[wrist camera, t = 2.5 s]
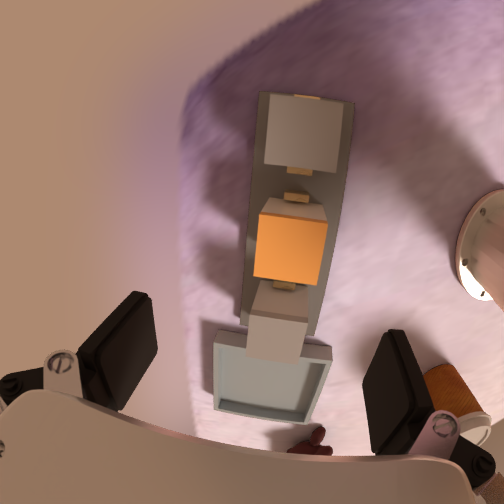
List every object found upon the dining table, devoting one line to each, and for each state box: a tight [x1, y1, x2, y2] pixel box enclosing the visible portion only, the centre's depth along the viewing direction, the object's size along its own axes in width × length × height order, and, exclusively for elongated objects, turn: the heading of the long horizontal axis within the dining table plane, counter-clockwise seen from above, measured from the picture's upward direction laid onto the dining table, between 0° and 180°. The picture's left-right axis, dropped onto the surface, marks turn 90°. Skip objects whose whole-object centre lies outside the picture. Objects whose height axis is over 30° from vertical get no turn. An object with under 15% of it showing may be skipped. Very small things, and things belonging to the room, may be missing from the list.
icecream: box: [286, 427, 333, 456], centre depth 36 cm, size 7×7×15 cm
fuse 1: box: [264, 94, 344, 173], centre depth 19 cm, size 5×5×6 cm
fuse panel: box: [240, 91, 355, 336], centre depth 25 cm, size 8×23×3 cm, turn 175°
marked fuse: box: [253, 197, 328, 285], centre depth 22 cm, size 5×5×6 cm
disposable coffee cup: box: [423, 364, 491, 446], centre depth 25 cm, size 10×10×12 cm
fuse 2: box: [245, 280, 308, 365], centre depth 25 cm, size 5×5×6 cm
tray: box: [213, 329, 333, 425], centre depth 33 cm, size 13×13×2 cm
